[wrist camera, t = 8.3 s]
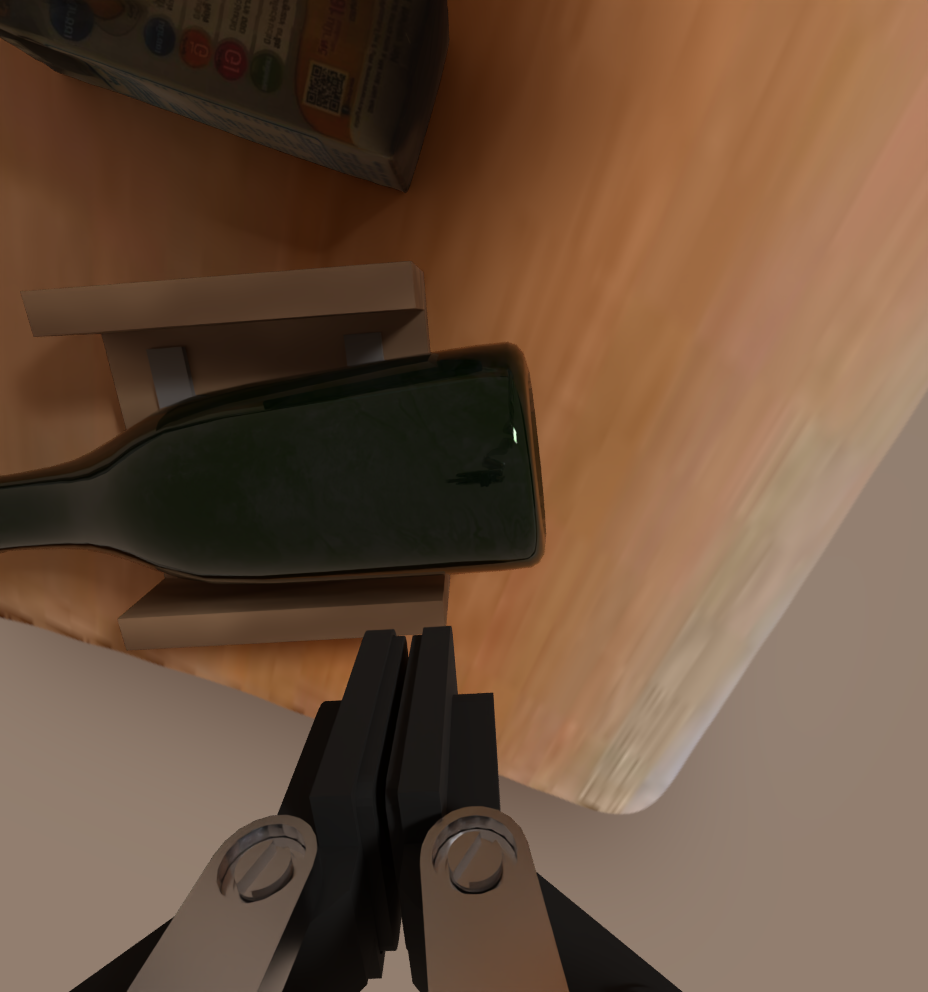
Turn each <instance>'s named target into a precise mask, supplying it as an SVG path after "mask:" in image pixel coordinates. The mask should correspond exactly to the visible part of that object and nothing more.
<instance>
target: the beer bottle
mask: <svg viewBox="0 0 928 992" xmlns="http://www.w3.org/2000/svg"><path fill="white" fill-rule="evenodd" d="M545 542H546V523H545V509H544V496H543V486H542V475H541V464H540V455H539V445H538V436H537V427H536V418H535V409H534V402H533V394H532V386H531V380H530V373H529V369H528V366H527V362H526V359H525V356H524V353H523V352H522V350H521V349H520V348H519V347H518V346H517V345H515V344H513V343H510V342H501V343H491V344H481V345H473V346H467V347H461V348H454V349H448V350H441V351H435V352H429V353H422V354H416V355H409V356H403V357H397V358H391V359H385V360H379V361H373V362H367V363H361V364H355V365H350V366H344V367H338V368H332V369H326V370H320V371H314V372H308V373H302V374H297V375H291V376H285V377H279V378H273V379H268V380H262V381H256V382H251V383H246V384H242V385H237V386H233V387H228V388H223V389H219V390H214V391H210V392H205V393H201V394H198V395H195V396H192V397H189V398H187V399H184V400H181V401H179V402H176V403H174V404H171V405H168V406H166V407H163V408H161V409H158V410H156V411H155V412H153V413H152V414H150V415H148V416H147V417H145V418H143V419H142V420H140V421H139V422H137V423H135V424H134V425H132V426H131V427H129V428H128V429H126V430H125V431H123V432H122V433H120V434H119V435H117V436H116V437H114V438H113V439H111V440H109V441H108V442H106V443H105V444H103V445H101V446H100V447H98V448H96V449H95V450H93V451H91V452H90V453H87V454H85V455H83V456H81V457H79V458H76V459H74V460H71V461H68V462H64V463H61V464H58V465H54V466H51V467H46V468H41V469H36V470H31V471H26V472H21V473H16V474H9V475H2V476H0V553H4V552H7V551H15V550H28V549H62V548H64V549H81V550H90V551H95V552H100V553H106V554H109V555H112V556H115V557H118V558H121V559H125V560H128V561H131V562H134V563H137V564H139V565H142V566H145V567H148V568H151V569H153V570H156V571H159V572H162V573H165V574H168V575H172V576H175V577H178V578H181V579H186V580H193V581H200V582H208V583H215V584H225V585H256V584H295V583H314V582H332V581H351V580H368V579H385V578H403V577H420V576H436V575H451V574H465V573H480V572H495V571H506V570H514V569H522V568H531V567H533V566H535V565H536V564H538V563H539V562H540V560H541V559H542V557H543V555H544V553H545Z"/></svg>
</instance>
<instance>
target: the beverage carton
mask: <svg viewBox="0 0 928 992" xmlns="http://www.w3.org/2000/svg"><path fill="white" fill-rule="evenodd" d="M0 37H1V38H2V39H4V40H5V41H7V42H9V43H10V44H12V45H14V46H16V47H17V48H19V49H20V50H22V51H24V52H25V53H27V54H28V55H30V56H31V57H33V58H35V59H36V60H38V61H41V62H43V63H44V64H46V65H47V66H49V67H50V68H51V69H53V70H54V71H56V72H58V73H61V74H64V75H67V76H70V77H73V78H76V79H79V80H81V81H84V82H87V83H89V84H92V85H96V86H99V87H103V88H106V89H109V90H112V91H115V92H118V93H121V94H124V95H126V96H129V97H132V98H135V99H137V100H140V101H143V102H146V103H148V104H151V105H154V106H156V107H159V108H162V109H165V110H168V111H171V112H174V113H177V114H180V115H182V116H185V117H188V118H190V119H193V120H196V121H199V122H201V123H204V124H207V125H210V126H213V127H215V128H218V129H221V130H224V131H226V132H229V133H232V134H234V135H237V136H239V137H242V138H245V139H248V140H250V141H253V142H256V143H259V144H262V145H265V146H267V147H270V148H273V149H276V150H279V151H281V152H284V153H287V154H290V155H292V156H295V157H298V158H301V159H304V160H307V161H310V162H313V163H316V164H319V165H322V166H325V167H328V168H330V169H333V170H336V171H339V172H342V173H345V174H348V175H351V176H355V177H358V178H361V179H365V180H368V181H371V182H374V183H376V184H379V185H383V186H388V187H392V188H395V189H397V190H400V191H402V192H404V193H406V192H407V191H408V189H409V186H410V183H411V180H412V177H413V174H414V171H415V168H416V164H417V161H418V158H419V154H420V151H421V148H422V144H423V141H424V137H425V134H426V131H427V127H428V124H429V120H430V117H431V113H432V110H433V106H434V102H435V99H436V95H437V91H438V88H439V84H440V80H441V76H442V72H443V68H444V64H445V59H446V55H447V50H448V45H449V22H448V7H447V0H0Z"/></svg>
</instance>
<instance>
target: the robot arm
mask: <svg viewBox="0 0 928 992" xmlns="http://www.w3.org/2000/svg"><path fill="white" fill-rule="evenodd" d="M401 917H402V923H403V930H404V937H405V944H406V949H407V950H408V954H409V961H410V968H411V975H412V982H413V984H414V985H415V986H416V988H417V989H418V990H419V991H420V992H682V991H681V990H680V989H678V988H677V987H676V986H675V985H673V984H672V983H671V982H670V981H669V980H667V979H666V978H665V977H664V976H663V975H661V974H660V973H659V972H658V971H656V970H655V969H654V968H653V967H652V966H650V965H649V964H648V963H647V962H646V961H644V960H643V959H642V958H641V957H639V956H638V955H637V954H636V953H635V952H633V951H632V950H631V949H630V948H628V947H627V946H626V945H625V944H624V943H622V942H621V941H620V940H619V939H618V938H616V937H615V936H614V935H612V934H611V933H610V932H609V931H608V930H607V929H605V928H604V927H603V926H602V925H600V924H599V923H598V922H597V921H595V920H594V919H593V918H592V917H591V916H589V915H588V914H587V913H586V912H585V911H583V910H582V909H581V908H580V907H578V906H577V905H576V904H575V903H574V902H572V901H571V900H570V899H569V898H567V897H566V896H565V895H564V894H563V893H561V892H560V891H559V890H558V889H557V888H555V887H554V886H553V885H552V884H550V883H549V882H548V881H547V880H546V879H544V878H543V877H542V876H541V875H539V874H538V873H537V872H536V870H535V866H534V863H533V859H532V856H531V852H530V848H529V845H528V842H527V840H526V837H525V835H524V834H523V831H522V829H521V827H520V826H519V825H518V824H517V823H516V822H515V821H514V820H513V819H512V818H511V817H509V816H508V815H506V814H504V813H502V812H501V811H500V795H499V778H498V761H497V745H496V729H495V713H494V698H493V693H477V694H458V691H457V679H456V668H455V656H454V645H453V634H452V627H451V626H439V627H424V628H423V632H422V635H413V637H412V642H411V648H410V653H409V657H408V649H407V641H406V637H405V636H396V632H395V630H394V629H384V630H367V631H366V632H365V634H364V637H363V640H362V643H361V646H360V648H359V651H358V654H357V657H356V660H355V663H354V666H353V669H352V672H351V675H350V678H349V681H348V684H347V687H346V690H345V693H344V696H343V699H342V700H340V701H325V702H323V703H322V704H321V706H320V708H319V710H318V712H317V715H316V717H315V720H314V722H313V725H312V727H311V730H310V733H309V735H308V738H307V740H306V743H305V745H304V748H303V751H302V753H301V756H300V758H299V761H298V763H297V766H296V768H295V771H294V774H293V776H292V779H291V781H290V784H289V787H288V789H287V792H286V794H285V797H284V799H283V802H282V805H281V807H280V810H279V812H278V815H273V816H268V817H265V818H262V819H258V820H255V821H253V822H252V823H250V824H248V825H246V826H244V827H243V828H240V829H239V830H238V831H236V832H235V833H234V834H233V835H232V836H231V837H229V838H228V839H227V840H225V842H224V843H223V844H222V845H221V846H220V848H219V849H218V850H217V852H216V853H215V854H214V855H213V857H212V858H211V860H210V862H209V863H208V865H207V866H206V868H205V869H204V871H203V873H202V874H201V875H200V877H199V879H198V880H197V882H196V883H195V885H194V886H193V888H192V890H191V891H190V893H189V894H188V896H187V897H186V899H185V901H184V902H183V904H182V906H181V907H180V909H179V910H178V912H177V913H176V915H175V916H174V917H173V918H172V919H170V920H169V921H167V922H166V923H165V924H163V925H162V926H160V927H159V928H158V929H156V930H155V931H154V932H152V933H151V934H149V935H148V936H146V937H145V938H144V939H142V940H141V941H139V942H138V943H137V944H135V945H134V946H132V947H131V948H130V949H128V950H127V951H125V952H124V953H123V954H121V955H120V956H118V957H117V958H116V959H114V960H113V961H111V962H110V963H109V964H107V965H106V966H104V967H103V968H102V969H100V970H99V971H98V972H96V973H95V974H93V975H92V976H90V977H89V978H88V979H86V980H85V981H83V982H82V983H81V984H79V985H78V986H77V987H75V988H74V989H72V990H71V991H69V992H360V991H361V990H362V989H363V988H364V987H365V986H366V985H367V982H368V979H375V978H382V971H383V964H384V957H385V951H396V949H397V947H398V941H399V933H400V925H401Z"/></svg>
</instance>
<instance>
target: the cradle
mask: <svg viewBox="0 0 928 992" xmlns="http://www.w3.org/2000/svg"><path fill="white" fill-rule="evenodd" d="M20 293H21V296H22V299H23V303H24V306H25V309H26V313H27V316H28V320H29V323H30V326H31V330H32V333H33V336H34V337H39V336H62V335H84V334H102V338H103V342H104V346H105V349H106V353H107V357H108V361H109V365H110V369H111V373H112V376H113V380H114V384H115V388H116V392H117V396H118V399H119V403H120V407H121V411H122V415H123V419H124V423H125V426H126V429H128V428H129V427H131V426H132V425H134V424H135V423H137V422H139V421H140V420H142V419H143V418H145V417H147V416H148V415H150V414H152V413H153V412H155V411H156V410H158V409H161V408H163V407H166V406H168V405H171V404H174V403H176V402H179V401H181V400H184V399H187V398H189V397H192V396H195V395H198V394H201V393H205V392H210V391H214V390H219V389H223V388H228V387H233V386H237V385H242V384H246V383H251V382H256V381H262V380H268V379H273V378H279V377H285V376H291V375H297V374H302V373H308V372H314V371H320V370H326V369H332V368H338V367H344V366H350V365H355V364H361V363H367V362H373V361H379V360H385V359H391V358H397V357H403V356H409V355H416V354H422V353H429V352H430V343H429V332H428V320H427V309H426V297H425V285H424V274H423V271H422V270H420V269H419V268H418V267H417V266H416V265H415V264H414V263H413V262H412V261H404V262H391V263H379V264H366V265H353V266H340V267H327V268H314V269H302V270H289V271H276V272H263V273H250V274H237V275H224V276H212V277H199V278H186V279H173V280H160V281H147V282H135V283H122V284H109V285H96V286H83V287H70V288H58V289H45V290H32V291H20ZM164 576H165V579H164V580H163V581H161V582H160V583H159V584H158V585H157V586H156V587H154V588H153V589H152V590H151V591H150V592H148V593H147V594H146V595H145V596H144V597H143V598H141V599H140V600H139V601H138V602H137V603H136V604H134V605H133V606H132V607H131V608H130V609H129V610H127V611H126V612H125V613H124V614H123V615H121V616H120V617H119V618H118V619H117V620H118V623H119V627H120V630H121V633H122V637H123V640H124V644H125V647H126V650H144V649H162V648H181V647H199V646H217V645H235V644H254V643H272V642H290V641H308V640H327V639H345V638H363V637H364V634H365V632H366V631H367V630H384V629H394V630H395V632H396V636H400V635H418V634H422V632H423V628H424V627H439V626H446V622H447V610H448V597H449V585H450V575H436V576H420V577H403V578H385V579H368V580H351V581H332V582H314V583H295V584H256V585H225V584H215V583H208V582H200V581H193V580H186V579H181V578H178V577H175V576H172V575H168V574H165V573H164Z"/></svg>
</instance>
